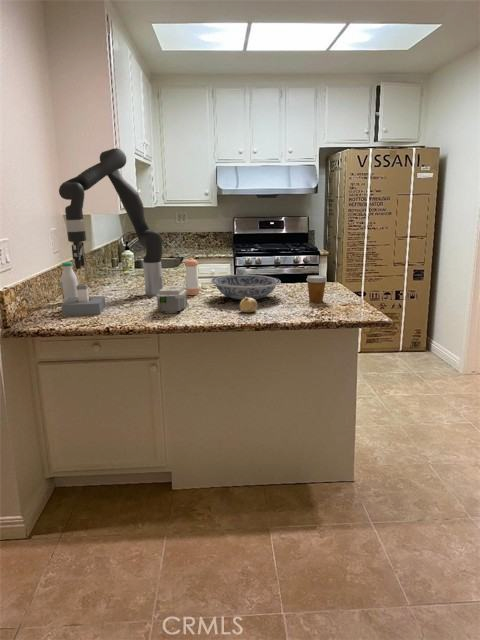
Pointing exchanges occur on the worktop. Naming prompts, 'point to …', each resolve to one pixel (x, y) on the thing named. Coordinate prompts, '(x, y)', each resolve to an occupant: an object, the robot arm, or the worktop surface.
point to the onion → (248, 305)
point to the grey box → (172, 299)
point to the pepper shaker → (191, 277)
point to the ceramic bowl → (245, 286)
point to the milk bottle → (68, 282)
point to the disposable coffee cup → (316, 288)
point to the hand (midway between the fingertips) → (80, 267)
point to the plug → (82, 293)
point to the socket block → (83, 306)
